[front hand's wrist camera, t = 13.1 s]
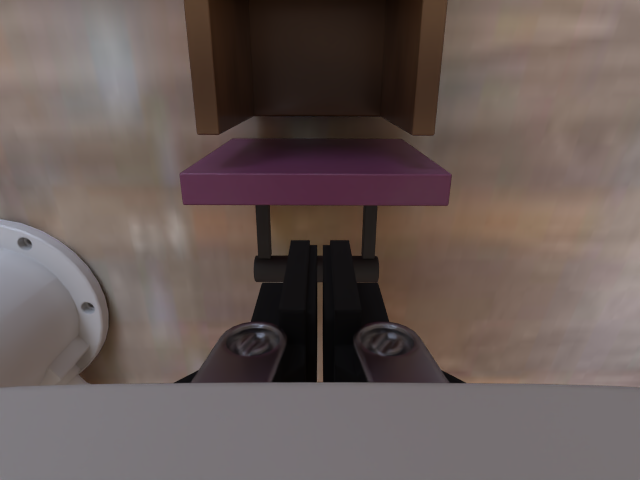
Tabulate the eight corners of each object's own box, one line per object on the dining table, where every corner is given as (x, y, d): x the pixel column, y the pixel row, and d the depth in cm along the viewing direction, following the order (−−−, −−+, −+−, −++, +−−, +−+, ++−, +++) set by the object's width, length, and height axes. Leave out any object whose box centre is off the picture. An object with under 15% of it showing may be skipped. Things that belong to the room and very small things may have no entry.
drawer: (394, 241, 26) (434, 326, 17) (239, 241, 26) (196, 325, 17) (426, -194, 19) (526, -450, 10) (208, -195, 19) (104, -452, 10)
